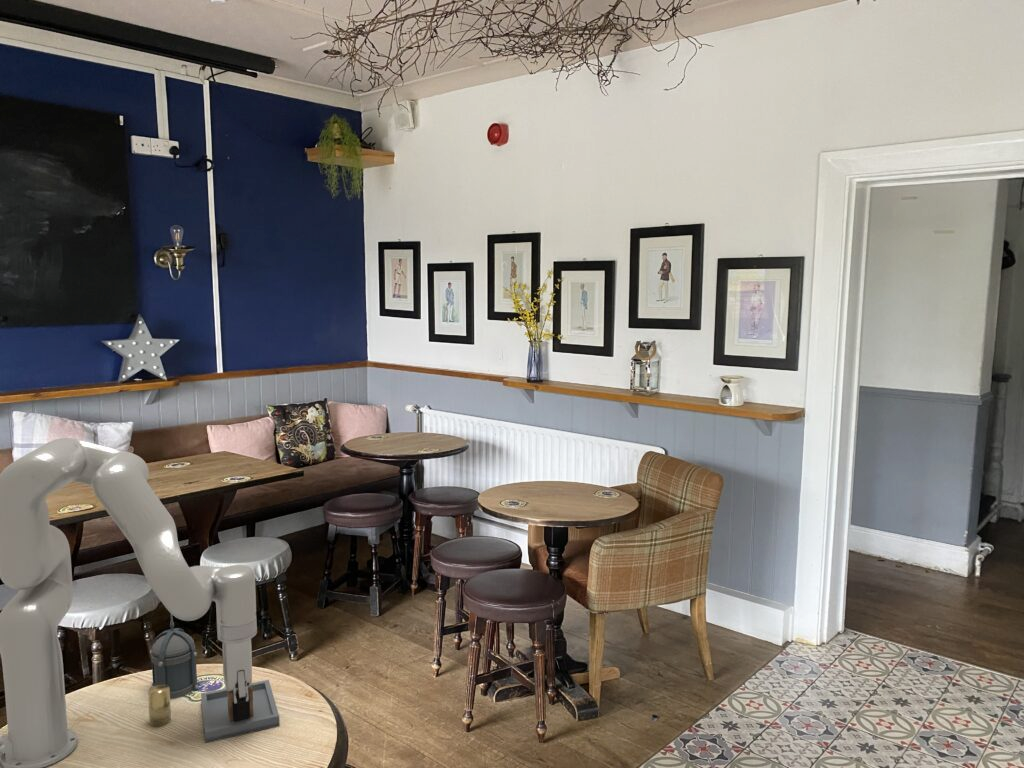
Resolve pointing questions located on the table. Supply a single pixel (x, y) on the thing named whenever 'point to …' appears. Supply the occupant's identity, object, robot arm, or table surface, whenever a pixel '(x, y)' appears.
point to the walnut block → (231, 699)
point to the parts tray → (222, 728)
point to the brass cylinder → (159, 705)
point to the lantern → (174, 662)
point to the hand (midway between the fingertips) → (240, 712)
